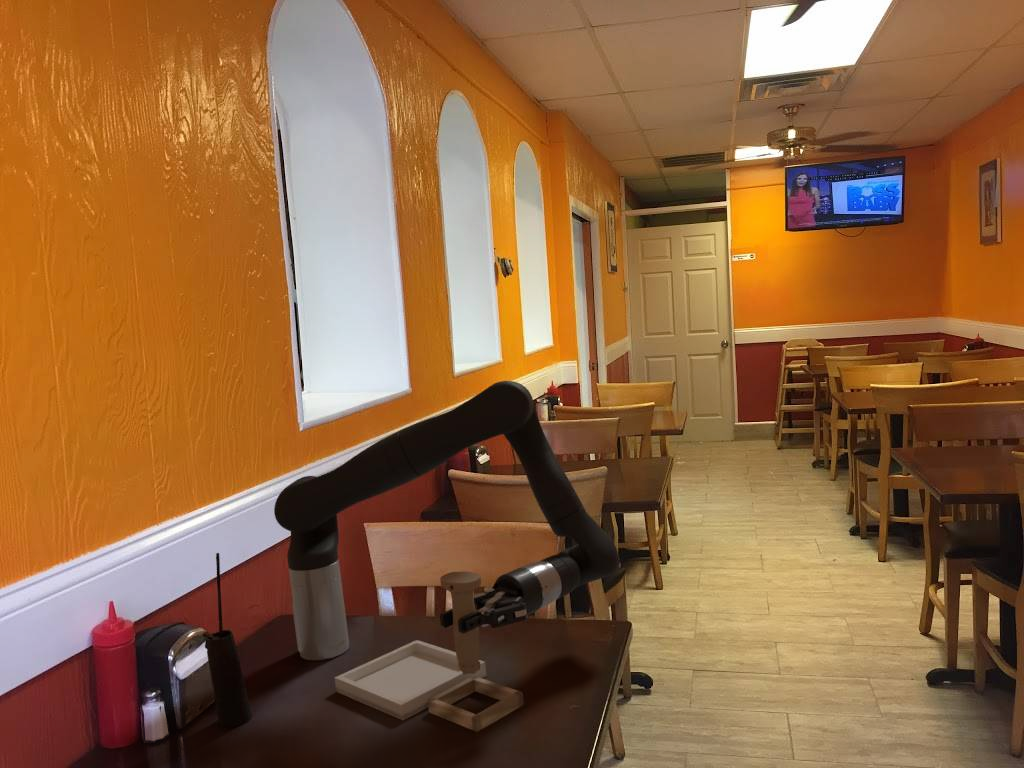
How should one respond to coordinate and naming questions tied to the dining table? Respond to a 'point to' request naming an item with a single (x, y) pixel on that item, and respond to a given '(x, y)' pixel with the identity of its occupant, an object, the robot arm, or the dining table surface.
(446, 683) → the tray
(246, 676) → the dining table surface
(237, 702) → the butter churn
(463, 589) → the handle
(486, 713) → the wooden square frame
